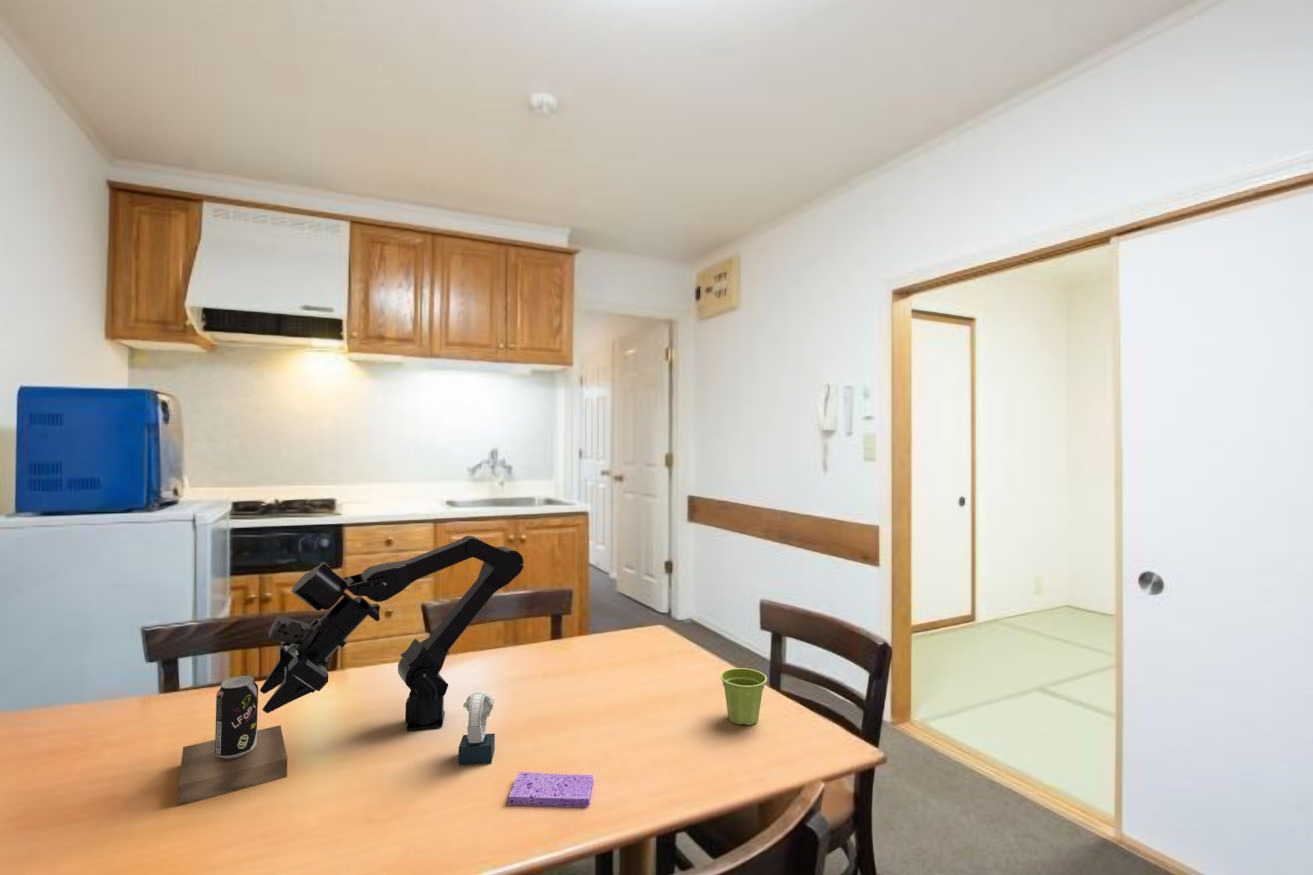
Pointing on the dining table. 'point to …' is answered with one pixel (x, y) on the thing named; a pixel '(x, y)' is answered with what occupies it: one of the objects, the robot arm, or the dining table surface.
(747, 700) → the plant pot
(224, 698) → the beverage can
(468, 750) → the watch
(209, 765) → the walnut block
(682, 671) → the dining table surface
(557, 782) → the sponges
